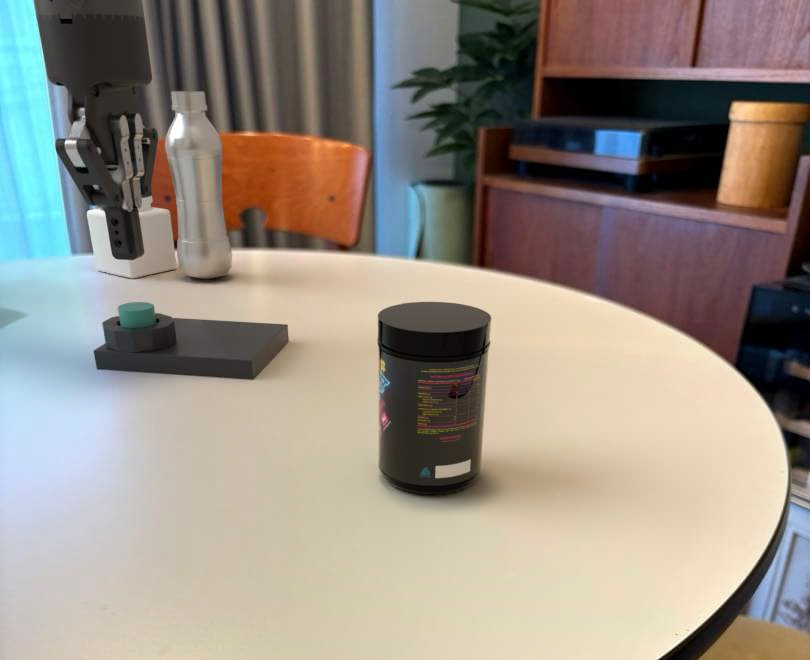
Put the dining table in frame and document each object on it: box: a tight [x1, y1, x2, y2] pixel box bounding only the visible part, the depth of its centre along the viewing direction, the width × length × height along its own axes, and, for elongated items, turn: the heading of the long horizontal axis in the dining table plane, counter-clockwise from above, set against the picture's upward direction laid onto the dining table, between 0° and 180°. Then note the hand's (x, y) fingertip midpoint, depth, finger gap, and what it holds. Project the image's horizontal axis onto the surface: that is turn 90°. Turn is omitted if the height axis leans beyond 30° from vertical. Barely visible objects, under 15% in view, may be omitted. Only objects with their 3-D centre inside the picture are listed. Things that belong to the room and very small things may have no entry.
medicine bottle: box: [86, 165, 177, 279], centre depth 101 cm, size 7×7×12 cm
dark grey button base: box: [93, 312, 290, 381], centre depth 74 cm, size 14×11×4 cm
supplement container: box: [376, 301, 492, 495], centre depth 51 cm, size 7×7×10 cm
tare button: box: [117, 301, 157, 328], centre depth 71 cm, size 3×3×2 cm
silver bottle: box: [164, 90, 233, 280], centre depth 96 cm, size 6×7×20 cm
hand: (128, 257), depth 69 cm, fingers closed
